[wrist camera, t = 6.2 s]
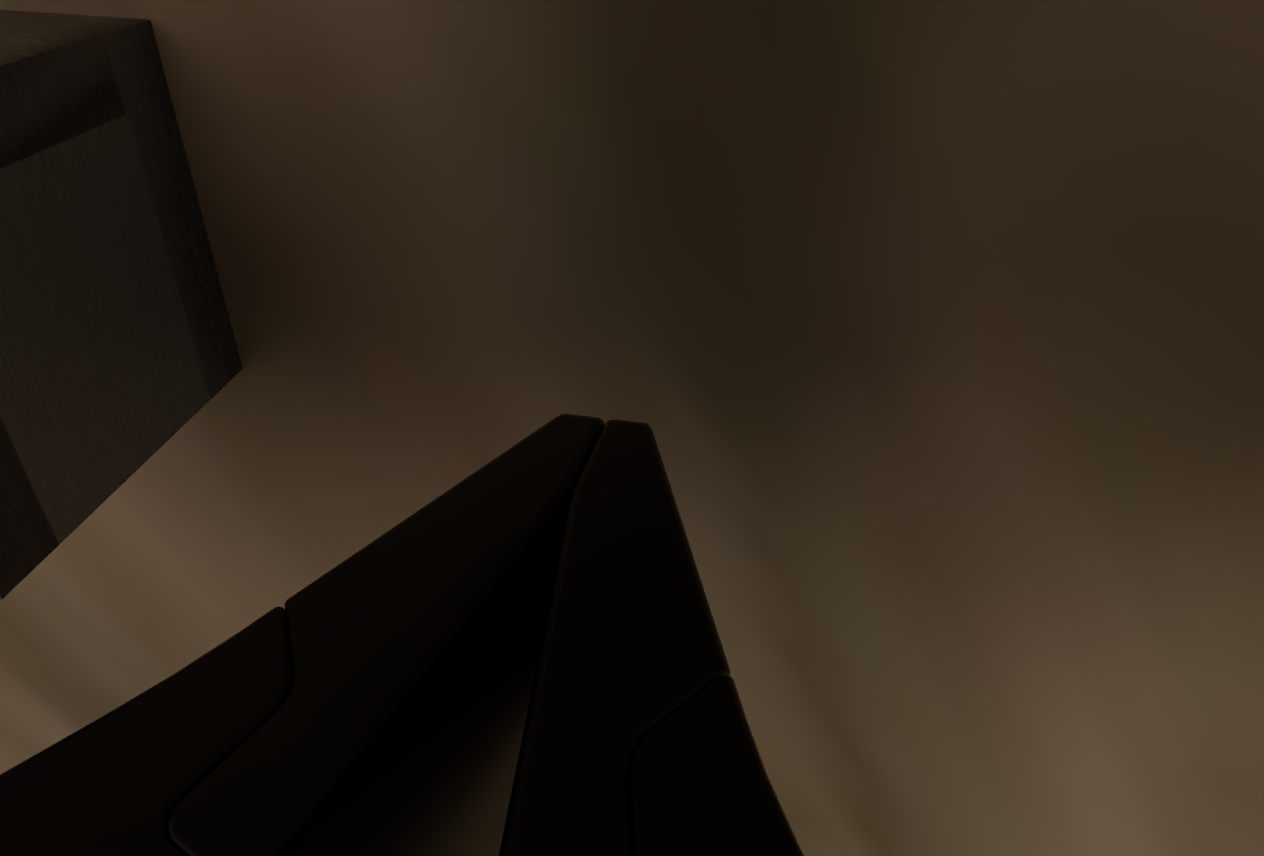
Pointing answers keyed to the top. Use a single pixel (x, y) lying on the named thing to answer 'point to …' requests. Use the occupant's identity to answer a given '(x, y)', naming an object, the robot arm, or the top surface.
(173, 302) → the dark-topped grey cube
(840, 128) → the top surface
